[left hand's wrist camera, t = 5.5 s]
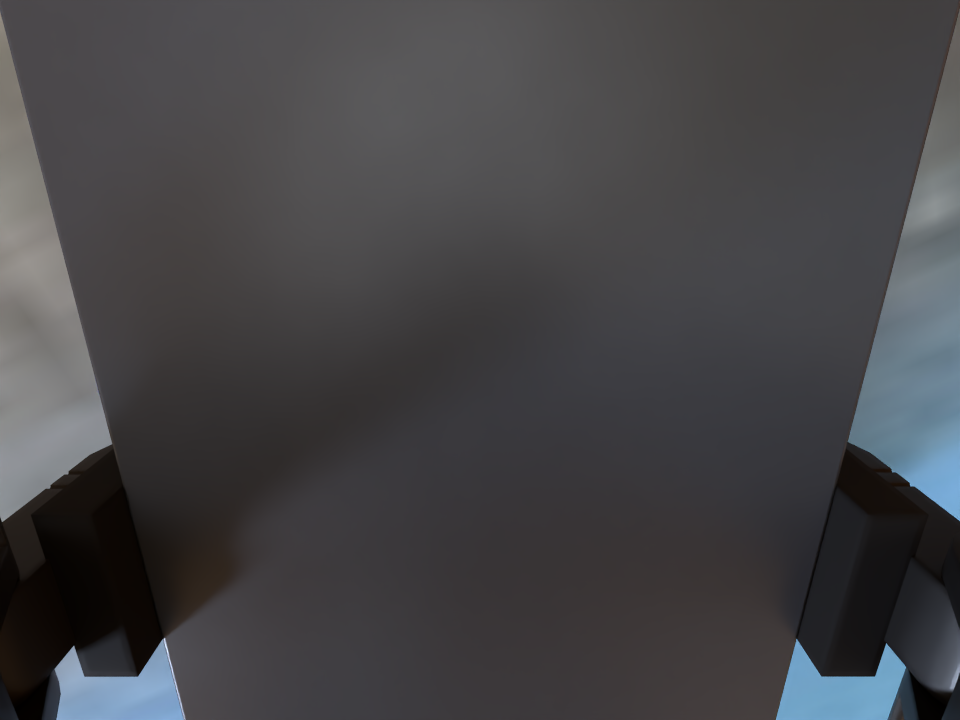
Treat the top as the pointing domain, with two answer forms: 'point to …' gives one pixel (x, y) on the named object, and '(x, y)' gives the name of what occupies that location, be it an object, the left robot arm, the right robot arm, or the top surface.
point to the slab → (479, 331)
